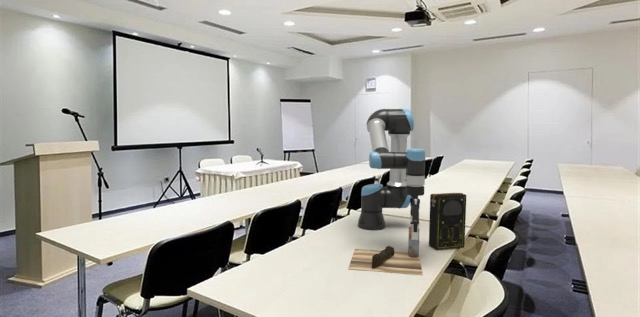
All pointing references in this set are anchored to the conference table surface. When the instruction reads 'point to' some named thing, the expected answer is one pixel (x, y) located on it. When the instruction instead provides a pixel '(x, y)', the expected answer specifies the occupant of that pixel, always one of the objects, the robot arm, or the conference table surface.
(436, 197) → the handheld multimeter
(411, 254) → the copper and grey cylinder
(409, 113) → the robot arm
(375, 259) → the hand tool
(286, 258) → the conference table surface
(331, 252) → the conference table surface
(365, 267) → the plywood sheet
